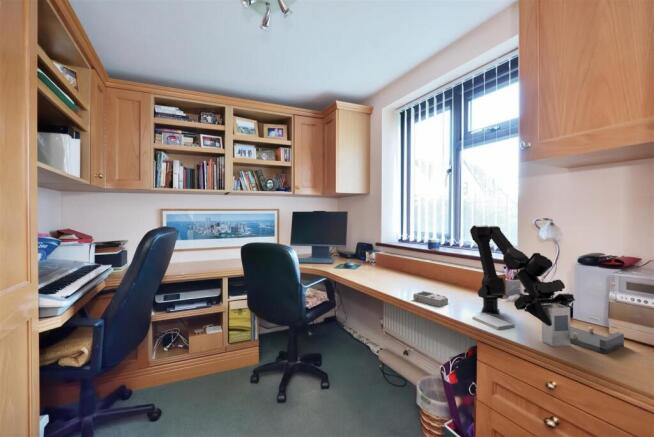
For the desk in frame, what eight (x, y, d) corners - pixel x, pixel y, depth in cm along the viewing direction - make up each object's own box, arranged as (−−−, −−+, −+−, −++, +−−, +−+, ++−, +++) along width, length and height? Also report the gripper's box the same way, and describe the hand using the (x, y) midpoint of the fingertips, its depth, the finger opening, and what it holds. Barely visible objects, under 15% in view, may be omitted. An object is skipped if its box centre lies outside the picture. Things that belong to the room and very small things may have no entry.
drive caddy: (541, 341, 96) (541, 304, 96) (559, 340, 97) (558, 303, 97) (552, 346, 92) (552, 308, 92) (570, 345, 93) (570, 307, 93)
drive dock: (547, 334, 101) (547, 323, 101) (565, 328, 106) (565, 318, 106) (606, 354, 87) (606, 341, 87) (623, 346, 92) (623, 333, 92)
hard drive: (514, 324, 108) (487, 313, 120) (497, 327, 106) (472, 315, 118) (514, 328, 108) (487, 317, 120) (497, 331, 106) (472, 319, 118)
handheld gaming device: (439, 307, 134) (439, 299, 134) (413, 300, 145) (413, 293, 145) (449, 304, 139) (449, 296, 139) (423, 297, 151) (423, 290, 151)
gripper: (520, 272, 97) (548, 315, 86) (569, 270, 99) (603, 312, 88) (503, 289, 105) (527, 330, 94) (550, 287, 107) (579, 327, 96)
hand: (559, 325), depth 93 cm, fingers closed on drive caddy, 6 cm apart
